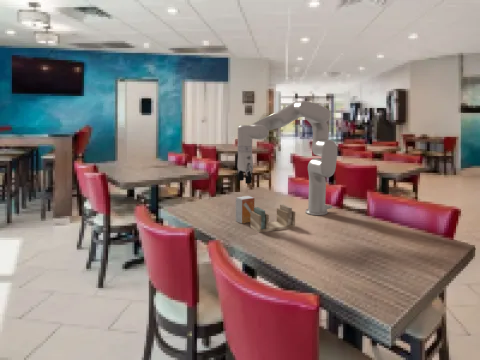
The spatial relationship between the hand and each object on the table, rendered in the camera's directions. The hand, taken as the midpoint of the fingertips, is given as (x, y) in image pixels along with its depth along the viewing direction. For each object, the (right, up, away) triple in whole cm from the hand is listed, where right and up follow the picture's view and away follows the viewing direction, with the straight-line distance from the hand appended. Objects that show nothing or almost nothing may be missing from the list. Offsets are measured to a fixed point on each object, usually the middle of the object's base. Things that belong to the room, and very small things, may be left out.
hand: (244, 181), depth 199 cm
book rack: (+14, -23, -8) cm, 28 cm away
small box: (0, -21, +4) cm, 22 cm away
